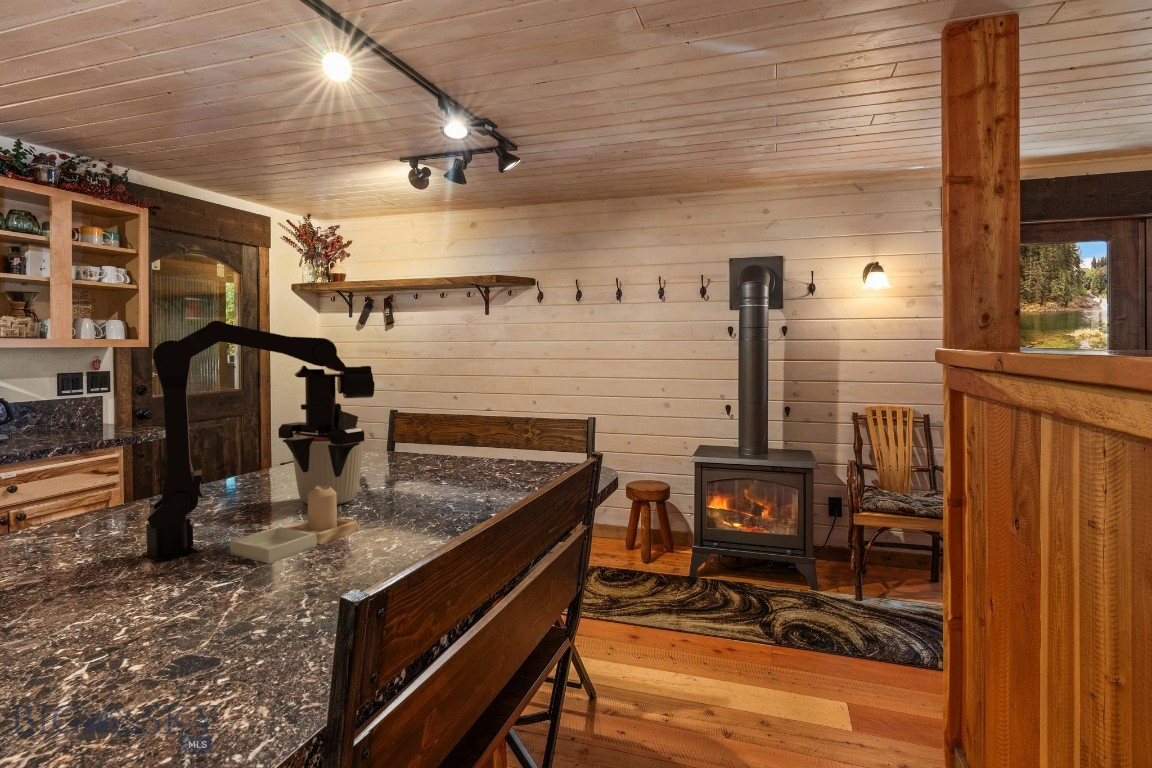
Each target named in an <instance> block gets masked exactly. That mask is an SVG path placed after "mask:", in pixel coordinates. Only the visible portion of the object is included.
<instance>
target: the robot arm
mask: <svg viewBox="0 0 1152 768" xmlns="http://www.w3.org/2000/svg"><path fill="white" fill-rule="evenodd" d="M217 343H226V344H233V345H236V346H242V347H247V348H251V349H252V348H253V349H257V350H263V351H266V352H267V351H268V352H273V353H278V354H283V355H286V356H289V357H291V358H294V359H296V360H300V361H302V362H305V363H308V364H310V365H313V366H318V367H325V368H327V369H329V370H330V371H334V372H339V373H326V372H325V370H324V369H325V368H308V367H307V366H306V365H302V366H301V367H300V369H299V370H297V372H295V373H294V376H295V377H296V378H304V379H305V380H304V381H305V382H304V383H305V385H304V386H305V391H304V393H305V403H303V404H302V403H301V404H300V410H304V411H305V422H303V421H297V422H289V423H282V424H281V425H280V427H278V428H277V429H278V431H277V433H278V438H279V439H283V440H282V442H283V443H285V444H286V446H287V448H288V449H289V450H290V452H291V454H292V456H293V455H294V457H295V459H296V461H297V462H298V464H299V466H300V468H301V470H302V471H303V472H308V469H309V456H310V445H311V443H312V442H313V440H314V438H315V437H322V438H329V441H330V442H331V445H328V448H329V453H330V458H331V462H332V467H333V471H334V474H335V477H339V476H341V473H342V470H343V468H344V465H345V462H346V459H347V457H348V454H349V452H350V451H351V449H352V448H353V447H354V446H356V445H359V443H360V442H362V441H364V442H365V439H364V434H365V431H364V429H363V428H362V427H357V424H358V421H359V416H357V415H355V414H352V413H350V412H346V411H343V410H342V405H341V403H337V402H336V392H337V393H338V395H340V394H342V396H343V399H364V398H365V399H368V398H373V397H374V394H375V386H376V385H375V381H374V376H373V372H372V366H371V365H361V366H347V365H345V362H343V361H342V360H341V358H340V357H339V355H338V349H337V347H336V345H335V343H334V341H332V340H331V339H328V338H323V337H309V336H287V335H282V334H278V333H274V332H273V333H272V332H269V331H264V330H260V329H254V328H249V327H245V326H240V325H237V324H236V325H235V324H230V323H226V322H224V321H221V320H213V321H210V322H208V323H207V324H206V325H205V326H203V327H201V328H200V329H197V330H196V331H194V332H192V333H190V334H189V335H187V336H184V337H183V338H181V339H179V340H174V339H171V340H164V341H163V342H161V343H159V344H158V345H156V347H155V348H154V350H153V354H152V358H153V362H154V366H155V369H156V374H157V377H158V380H159V383H160V386H161V388H162V389H161V390H162V393H163V394H162V395H163V412H164V415H163V416H164V430H165V431H164V432H165V433H164V435H165V449H166V452H165V453H166V471H165V477H164V482H163V483H164V484H163V488H162V494H161V495H162V496H161V498H160V499H159V500H157V502H156V503H154V505H152V506H151V509H150V511H149V513H148V517H147V522H148V523H146V524H145V528H146V529H145V531H146V533H145V534H146V551H144V552H142V553H141V557H146V558H148V559H153V560H156V561H159V562H164V561H168V560H172V559H174V558H178V557H181V556H185V555H188V554H192V553H194V552H197V551H198V550H197V548H196V547H193V546H194V525H193V524H192V523H191V522H192V521H191V517H187V515H188V514H190V513H191V512H193V511H194V510H195V509H196V508H197V507H198V504H199V498H203V496H204V495H203V493H204V488H203V486H202V484H201V483H202V482H201V480H202V471H203V469H197V470H194V467H193V465H192V460H191V447H190V445H191V444H190V427H189V425H190V424H189V410H188V409H189V408H188V390H187V389H188V386H189V385H188V383H189V380H190V379H189V378H190V372H191V365H192V360H193V357H195V356H196V355H199V354H200V353H202V352H204V351H205V350H207V349H209V348H211V347H212V346H214V345H216V344H217ZM336 378H337V382H336ZM336 385H337V391H336ZM316 431H318V433H317V432H316ZM324 433H327V434H324ZM308 436H313V437H308Z"/></svg>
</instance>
